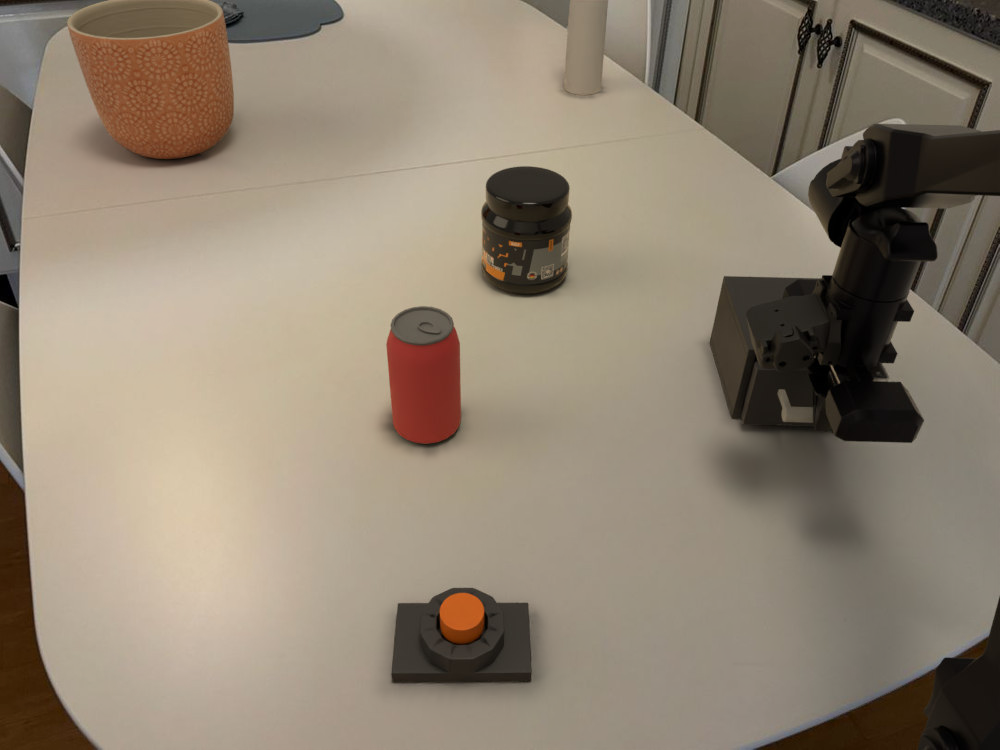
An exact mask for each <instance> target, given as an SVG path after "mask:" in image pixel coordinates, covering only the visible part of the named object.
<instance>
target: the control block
mask: <svg viewBox="0 0 1000 750" xmlns="http://www.w3.org/2000/svg"><path fill="white" fill-rule="evenodd" d="M457 593H468V594H471V595H474V596H476V597H477V598H478V599H479V600H480V601H481V602H482V604H483V606H484V630H483V632H482V634H481V635H480V637H479V638H478V639H476V640H475V641H473V642H471V643H468V644H456V643H453V642H450V641H449V640H447V639H446V638H445V637H444V635H443V634H442V632H441V628H440V607H441V605H442V603H443V602H444V600H445V599H446V598H448V597H449V596H451V595H453V594H457ZM529 609H530V608H529V602H497V601H496V599H495V598H494V596H492V595H490V594H487V593H486V592H483V591H481V590H479V589H477V588H475V587H451V588H449V589H447V590H444V591H443V592H441V593H440V592H439V594H436V595H434V596H433V597H432V598H431V599H430V600H429V601H428V602H398V603H397V609H396V619H395V628H394V629H395V631H394V640H393V641H394V643H393V652H392V664H391V681H392V683H485V682H486V683H487V682H488V683H489V682H490V683H491V682H492V683H495V682H496V683H498V682H499V683H503V682H504V683H505V682H509V683H511V682H513V683H514V682H518V683H519V682H520V683H522V682H523V683H524V682H525V683H526V682H531V681H532V675H533V674H532V673H533V670H532V668H533V667H532V652H531V651H532V650H531V631H530V629H531V627H530V611H529Z"/></svg>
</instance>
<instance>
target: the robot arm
mask: <svg viewBox="0 0 1000 750" xmlns="http://www.w3.org/2000/svg"><path fill="white" fill-rule="evenodd" d="M840 157H841V158H838V159H835V160H834V161H831V162H829V163H828V164H827V165H825V166H824V167H822V168H821V169H820V170H819V171H818V172H817V173H816V174H815V176H814V177H813V179H811V181H810V182H809V186H808V192H807V198H808V203H809V204H810V206H811V208H812V210H813V211H814V213H815V215H816V217H817V219H818V221H819V222H820V224H821V226H822V228H823V230H824V232H825V233H826V235H827V237H828V239H829V241H830V242H831V243H833V244H834V245H835V246H836V247H839V248H840V249H839V252H838V256H837V259H836V262H835V265H834V269H833V272H832V274H831V275H829V274H822V275H821V280H801V279H798V280H796V281H795V282H793V283H792V284H790V285H789V286H787V287H785V291H784V294H783V298H782V299H779V300H775V301H771V302H767V303H763V304H759V305H756V306H753V307H751V308H749V309H748V310H747V312H746V318H747V323H748V328H749V333H750V338H751V343H752V346H753V348H754V351H755V354H756V357H757V360H758V363H759V365H760V366H761V367H762V368H764V369H775V368H776V370H777V371H778V372H781V373H785V372H790V371H794V370H798V369H802V368H807V369H808V370H809V371H810V372H811V373H808V377H809V379H810V382H811V384H812V391H813V392H812V394H813V426H812V427H813V428H814V431H815V432H819V433H820V432H821V433H822V432H823V433H824V432H825V433H826V432H828V431H830V430H832V432H833V435H834V437H836V438H838V439H840V440H841V441H843V442H864V443H865V442H867V443H902V444H903V443H905V444H906V443H907V444H912V443H913V442H914V441H915V440H916V439H917V437H918V435H919V433H920V431H921V429H922V426H923V424H924V422H925V419H924V417H923V415H922V413H921V411H920V409H919V408H918V406H917V404H916V402H915V400H914V398H913V397H912V395H911V393H910V391H909V390H908V389H907V388H906V386H905V385H904V384H903V383H902V382H901V381H890V376H889V373H888V372H887V370H886V368H885V366H884V364H894V363H895V361H896V359H897V356H898V352H897V350H896V348H895V346H894V345H893V343H892V338H893V336H894V334H895V330H896V328H897V325H898V322H901V323H903V322H905V323H907V322H908V323H910V322H911V321H912V318H913V315H914V313H915V310H914V308H913V307H912V305H911V303H910V302H909V300H908V297H909V294H910V291H911V289H912V286H913V284H914V281H915V279H916V276H917V273H918V270H919V267H920V265H921V263H922V262H931V263H932V262H935V261H937V259H938V257H939V255H938V246H937V244H936V242H935V240H934V239H933V238H932V235H931V232H930V226H929V225H930V224H929V223H928V222H926V221H922V220H921V218H920V217H919V216H918V215H917V214H916V213H914V212H913V211H910V210H909V209H913V208H914V209H952V208H955V207H959V206H963V205H966V204H971V203H972V202H973V201H974V200H976V196H986V197H1000V129H996V130H995V129H994V130H984V131H982V130H979V129H975V128H971V127H967V126H963V125H958V124H957V125H955V124H954V125H952V124H948V125H947V124H915V123H914V124H910V123H909V124H908V123H872V124H870V125H869V126H868V127H866V129H865V130H864V131H863V132H862V139H858V140H857V141H855V143H854V144H853V145H845V146H844V147H843V151H842V154H841V156H840ZM998 597H999V598H998V601H997V604H996V608H995V612H994V615H993V620H992V622H991V627H990V629H989V635H988V637H987V641H986V645H985V648H984V651H983V652H982V654H980V655H979V656H978V657H949V656H948V657H947V656H946V657H944V658H943V659H942V660H941V662H940V663H939V664H938V666H937V667H936V668H935V671H934V679H933V686H932V692H931V695H930V698H929V701H928V703H927V705H926V706H925V708H924V709H923V714H924V717H925V716H926V717H927V720H926V724H925V727H924V729H923V731H922V732H921V735H920V737H919V741H918V745H917V750H1000V596H998Z"/></svg>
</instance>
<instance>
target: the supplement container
mask: <svg viewBox="0 0 1000 750" xmlns="http://www.w3.org/2000/svg"><path fill="white" fill-rule="evenodd" d="M570 187H571V186H570V184H569V182H568V180H567V179H566V178H565V177H564V176H563V175H561V174H560V173H558V172H556V171H553V170H551V169H549V168H544V167H539V166H531V165H527V166H526V165H523V166H513V167H512V166H511V167H507V168H504V169H501V170H498V171H496V172H495V173H493V174H491V175H490V176H489V177H488V179H487V180H486V181H485V201H484V203H483V204H482V206H481V210H480V218H481V223H482V224H481V229H482V230H481V263H480V264H481V271H482V274H483V276H484V277H485V279H486V280H487V281H488V282H489V283H490V284H492V285H493V286H495V287H496V288H498V289H500V290H502V291H506V292H509V293H514V294H523V295H530V294H537V293H539V294H540V293H543V292H547V291H549V290H551V289H553V288H555V287H556V286H559V285H560V284H561V283H562V281H564V279H565V277H566V276H567V272H568V268H569V263H568V260H569V245H570V234H571V233H570V231H571V223H572V220H573V211H572V208H571V206H570V204H569V202H570V189H571V188H570Z"/></svg>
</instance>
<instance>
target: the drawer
mask: <svg viewBox="0 0 1000 750" xmlns="http://www.w3.org/2000/svg"><path fill="white" fill-rule="evenodd" d="M808 373H811V372H810V371H809V370H808V369H807V368H802V369H798V370H794V371H790V372H785V373H781V372H778V371H777V370H776V368H775V369H764V368H762V367H761V366H760V365H759V363H758V360H757V357H756V356H755V360H754V364H753V368H752V372H751V376H750V380H749V383H748V387H747V391H746V395H745V399H744V401H745V402H744V406H743V410H742V414H741V419H740V420H741V422H742V424H743V425H755V426H756V425H761V426H794V427H795V426H796V427H797V426H799V427H814V426H813V394H812V392H813V391H812V384H811V382H810V379H809V377H808Z"/></svg>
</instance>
